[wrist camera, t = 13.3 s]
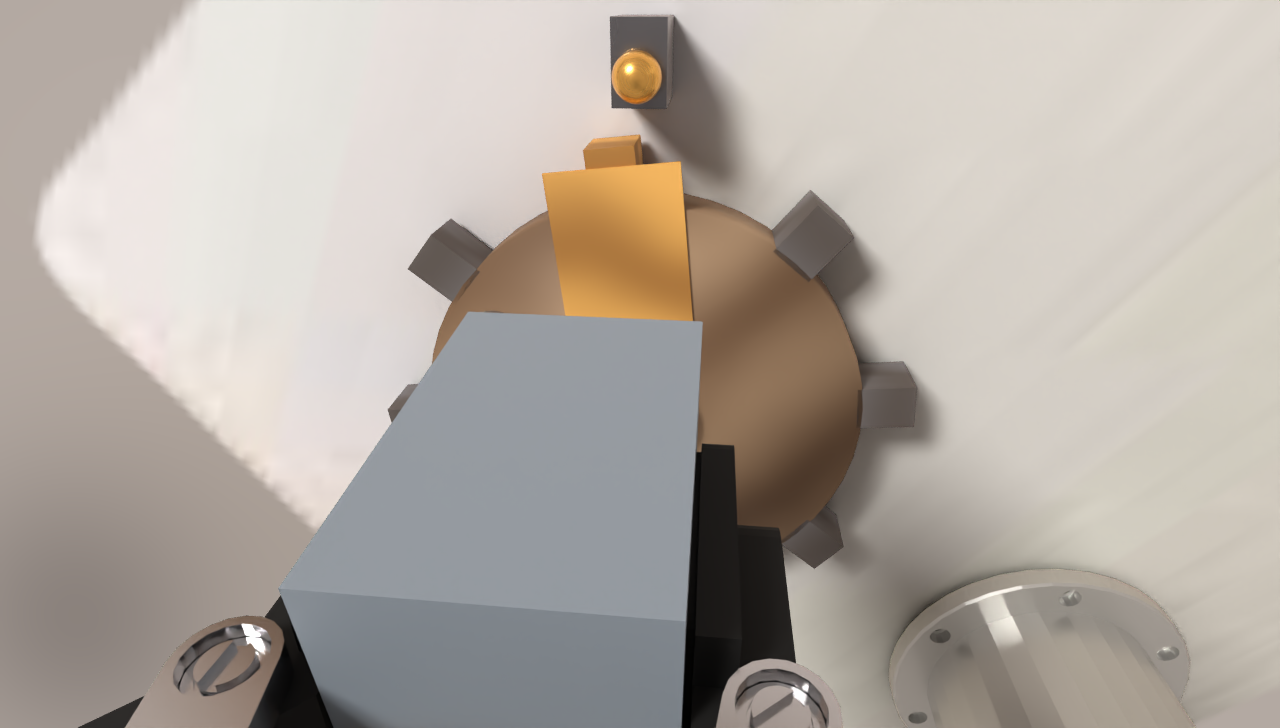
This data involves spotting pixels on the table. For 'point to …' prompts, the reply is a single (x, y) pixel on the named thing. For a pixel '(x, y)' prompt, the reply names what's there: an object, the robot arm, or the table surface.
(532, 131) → the table surface
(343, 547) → the link block
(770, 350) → the sprocket
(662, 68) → the block with gold knob
